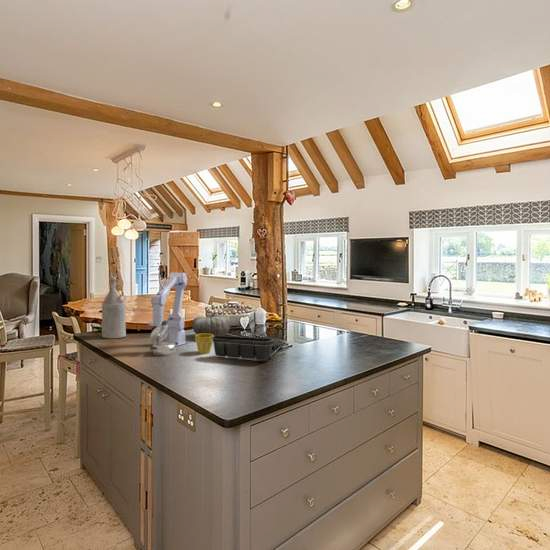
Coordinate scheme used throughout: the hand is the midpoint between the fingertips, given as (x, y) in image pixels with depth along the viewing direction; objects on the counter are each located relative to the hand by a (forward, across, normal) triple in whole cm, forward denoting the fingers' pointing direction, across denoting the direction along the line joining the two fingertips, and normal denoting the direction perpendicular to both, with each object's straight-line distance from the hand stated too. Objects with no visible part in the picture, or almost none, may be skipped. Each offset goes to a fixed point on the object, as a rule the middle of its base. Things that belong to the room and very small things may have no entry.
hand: (157, 339), depth 223 cm
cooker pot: (+6, +6, 0) cm, 9 cm away
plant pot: (+6, +21, +16) cm, 27 cm away
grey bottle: (+8, -54, +6) cm, 55 cm away
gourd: (+7, -7, +48) cm, 49 cm away
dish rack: (+6, +41, +35) cm, 54 cm away
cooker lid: (-5, +3, 0) cm, 6 cm away
